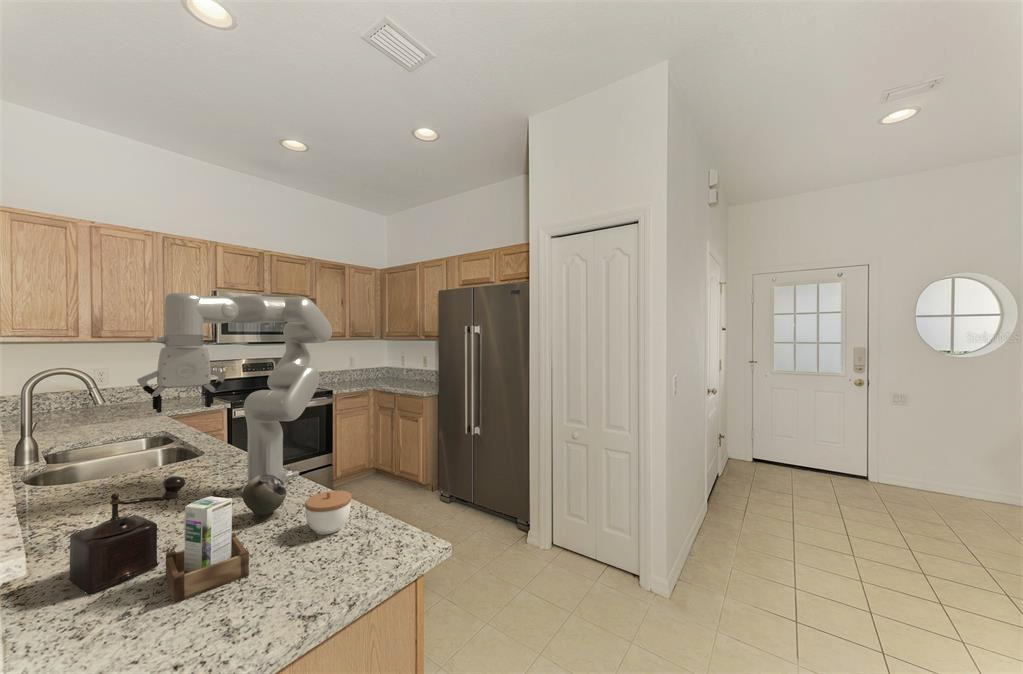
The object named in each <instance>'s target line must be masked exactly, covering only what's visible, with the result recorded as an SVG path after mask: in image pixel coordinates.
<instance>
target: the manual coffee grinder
mask: <svg viewBox="0 0 1023 674" xmlns="http://www.w3.org/2000/svg"><path fill="white" fill-rule="evenodd" d="M185 485H186V479H185V478H184V477H181V476H178V475H175V476H174V475H173V476H170V477H167V478H165V479H164V480H163V481H162V487H163V489H164V493H163V495H161V496H157V497H156V496H155V497H154V496H153V497H140V498H134V499H132V498H131V499H128V500H120V498H119V497H120V494H119V493H118V492H113V493H112V494H111V495H110V499H111V500H110V502H109V505H111V517H110V519H107V520H105V521H103V522H102V523H100V524H98V525H96V526H93V527H90V528H86V529H83V530H80V531H77V532H74V533H71V534H70V537H69V581H70V583H71V584H72V585H73V586H75V587H76V588H78V589H79V590H81V591H82V590H83V591H84V592H83V591H82V592H83V593H85V592H86V593H87V595H90V594H93V595H95V594H97V593H100V592H103V591H104V590H107V589H110V588H113V587H115V586H117V585H119V584H122V583H124V582H127V581H129V580H132V579H134V578H135V577H137V576H140V575H142V574H145V573H146V572H149V571H151V570H153V569H155V568H157V567H158V566H159V564H158V523H156V522H154V521H152V520H150V519H147V518H145V517H142V516H139V515H137V514H133V515H129V516H120V515H119V505H125V506H126V505H133V504H139V503H140V504H141V503H147V502H163V501H166V502H170V501H171V500H175V499H178V498H179V493H178V492H179V491H180V490H181V489H182V488H184V487H185ZM86 593H85V594H86Z"/></svg>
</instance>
